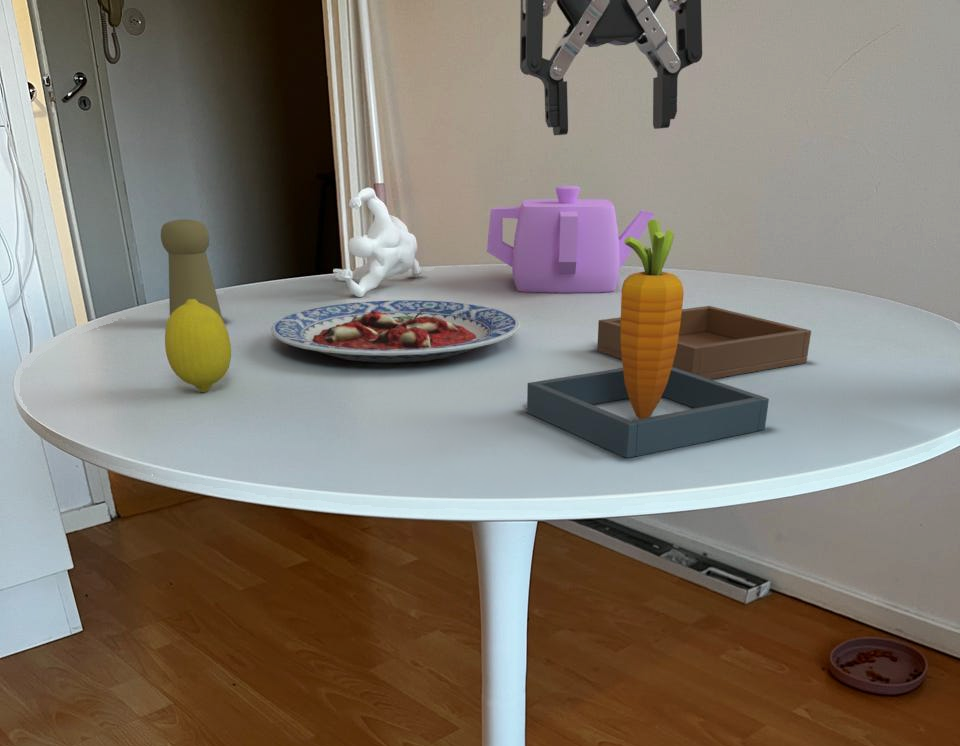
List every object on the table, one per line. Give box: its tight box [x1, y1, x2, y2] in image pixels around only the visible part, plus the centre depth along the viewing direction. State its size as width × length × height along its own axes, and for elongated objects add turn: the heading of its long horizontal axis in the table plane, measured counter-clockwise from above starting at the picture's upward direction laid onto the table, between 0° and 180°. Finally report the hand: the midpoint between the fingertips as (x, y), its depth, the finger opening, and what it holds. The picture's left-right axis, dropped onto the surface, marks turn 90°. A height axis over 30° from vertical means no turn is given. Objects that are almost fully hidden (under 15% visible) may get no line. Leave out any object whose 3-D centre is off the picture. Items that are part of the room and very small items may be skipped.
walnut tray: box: [596, 305, 812, 380], centre depth 100 cm, size 15×15×3 cm
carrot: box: [620, 219, 684, 419], centre depth 78 cm, size 5×5×15 cm
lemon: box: [164, 299, 232, 393], centre depth 88 cm, size 6×6×8 cm
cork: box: [160, 218, 224, 321], centre depth 113 cm, size 6×6×11 cm
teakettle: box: [486, 185, 655, 294], centre depth 134 cm, size 17×17×12 cm
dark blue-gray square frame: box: [526, 367, 770, 459], centre depth 81 cm, size 14×14×2 cm
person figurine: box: [332, 187, 423, 298], centre depth 133 cm, size 13×13×18 cm
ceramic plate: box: [270, 299, 521, 364], centre depth 105 cm, size 26×26×3 cm
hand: (611, 131), depth 82 cm, fingers open, 8 cm apart
